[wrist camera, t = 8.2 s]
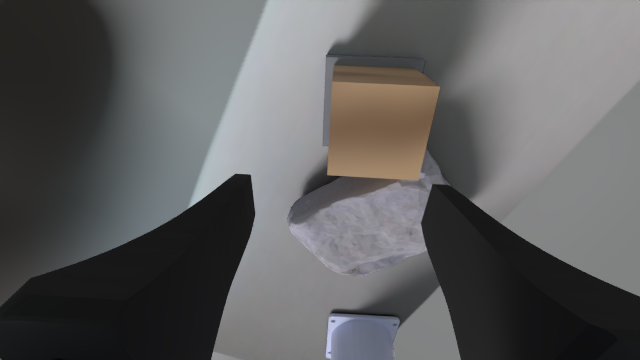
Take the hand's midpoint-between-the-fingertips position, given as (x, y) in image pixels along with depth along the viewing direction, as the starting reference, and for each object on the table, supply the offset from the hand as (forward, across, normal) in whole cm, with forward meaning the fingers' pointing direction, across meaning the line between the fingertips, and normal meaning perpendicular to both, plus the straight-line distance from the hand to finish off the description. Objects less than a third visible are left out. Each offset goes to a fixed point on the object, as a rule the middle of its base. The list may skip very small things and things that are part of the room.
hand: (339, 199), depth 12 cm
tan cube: (+9, -2, -1) cm, 10 cm away
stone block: (+10, -4, +8) cm, 13 cm away
